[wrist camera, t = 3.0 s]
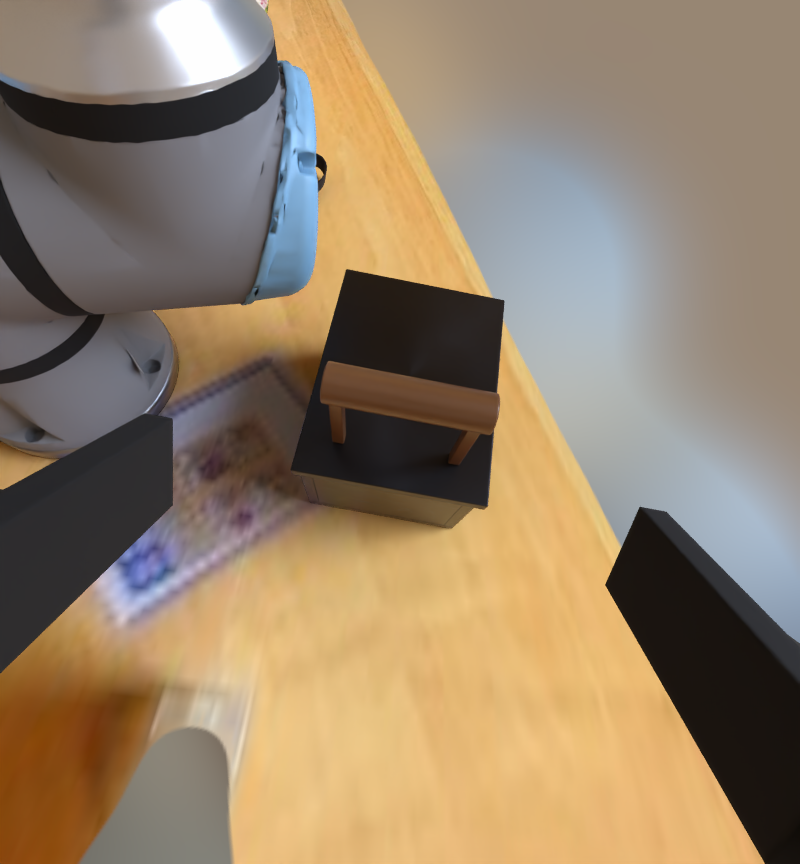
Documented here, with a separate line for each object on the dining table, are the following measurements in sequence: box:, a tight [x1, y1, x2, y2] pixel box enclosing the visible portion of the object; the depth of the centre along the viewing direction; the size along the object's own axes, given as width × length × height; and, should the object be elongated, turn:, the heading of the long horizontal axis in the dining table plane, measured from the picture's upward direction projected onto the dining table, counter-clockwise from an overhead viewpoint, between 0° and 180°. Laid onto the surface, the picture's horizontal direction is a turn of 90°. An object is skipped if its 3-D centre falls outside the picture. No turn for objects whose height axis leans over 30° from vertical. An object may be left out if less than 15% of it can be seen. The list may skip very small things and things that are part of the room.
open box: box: [301, 476, 473, 528], centre depth 34 cm, size 15×12×10 cm
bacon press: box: [291, 269, 504, 510], centre depth 26 cm, size 15×12×8 cm
